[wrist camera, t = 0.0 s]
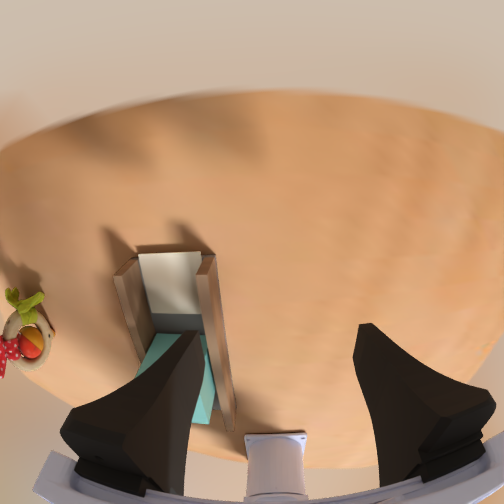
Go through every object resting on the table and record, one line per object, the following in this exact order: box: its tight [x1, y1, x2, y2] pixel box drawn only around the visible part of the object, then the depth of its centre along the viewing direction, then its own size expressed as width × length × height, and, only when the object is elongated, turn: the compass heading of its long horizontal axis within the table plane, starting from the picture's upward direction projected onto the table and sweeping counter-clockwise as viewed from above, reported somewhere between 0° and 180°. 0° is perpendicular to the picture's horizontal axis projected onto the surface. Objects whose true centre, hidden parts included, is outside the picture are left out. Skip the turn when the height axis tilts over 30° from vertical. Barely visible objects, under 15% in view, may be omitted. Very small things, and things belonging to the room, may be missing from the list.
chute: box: [113, 251, 237, 431], centre depth 23 cm, size 19×7×4 cm, turn 3°
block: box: [134, 333, 216, 424], centre depth 21 cm, size 5×5×6 cm
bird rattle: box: [0, 287, 55, 378], centre depth 21 cm, size 6×11×9 cm
